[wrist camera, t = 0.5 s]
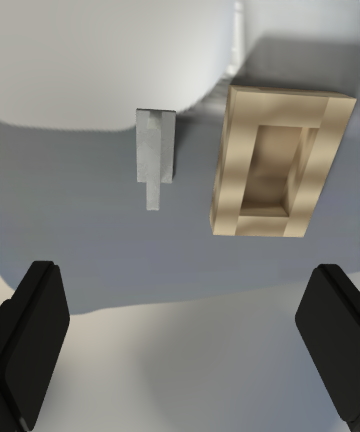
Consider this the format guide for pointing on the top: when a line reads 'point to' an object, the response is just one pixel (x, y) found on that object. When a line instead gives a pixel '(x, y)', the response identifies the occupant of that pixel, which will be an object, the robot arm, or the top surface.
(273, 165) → the well block
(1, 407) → the robot arm
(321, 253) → the top surface
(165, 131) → the t bracket
